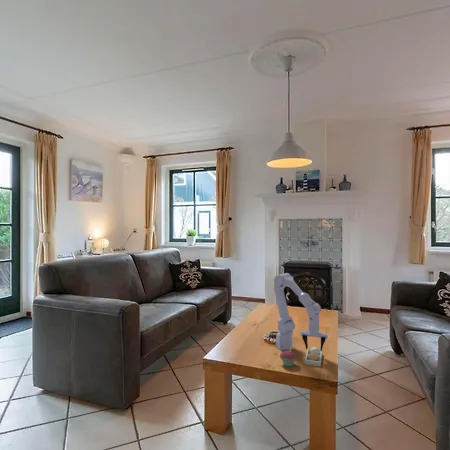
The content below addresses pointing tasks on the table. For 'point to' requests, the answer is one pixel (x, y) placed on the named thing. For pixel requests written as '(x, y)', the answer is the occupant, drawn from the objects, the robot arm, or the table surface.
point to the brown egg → (313, 356)
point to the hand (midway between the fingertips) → (313, 349)
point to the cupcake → (288, 357)
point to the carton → (314, 363)
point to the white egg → (315, 350)
